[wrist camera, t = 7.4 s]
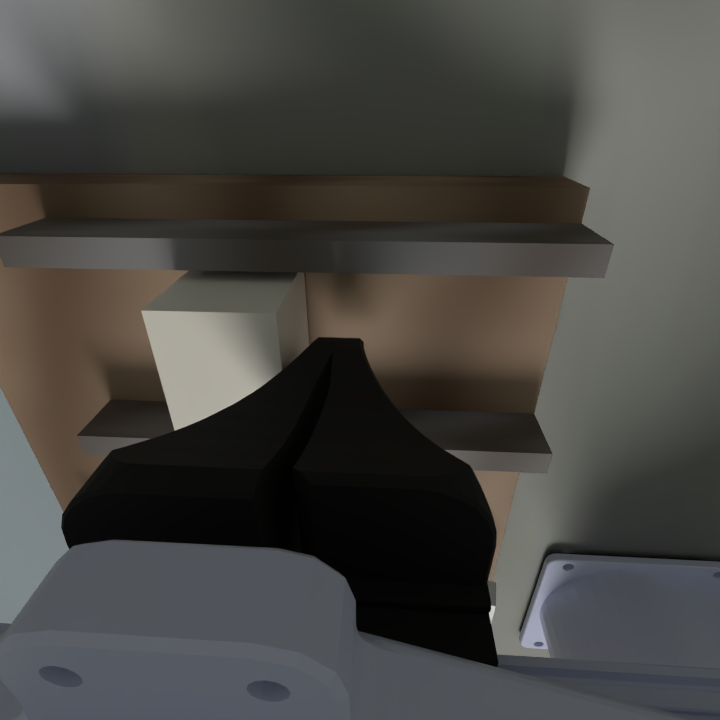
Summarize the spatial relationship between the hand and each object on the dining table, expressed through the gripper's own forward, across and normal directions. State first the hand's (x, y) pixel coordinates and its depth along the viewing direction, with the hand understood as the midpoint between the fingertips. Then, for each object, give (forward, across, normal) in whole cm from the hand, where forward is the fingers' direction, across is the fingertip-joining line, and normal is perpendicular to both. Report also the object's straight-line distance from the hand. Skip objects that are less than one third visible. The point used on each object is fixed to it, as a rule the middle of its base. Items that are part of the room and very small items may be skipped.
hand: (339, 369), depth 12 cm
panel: (+4, +3, +6) cm, 7 cm away
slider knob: (+2, +3, 0) cm, 3 cm away
